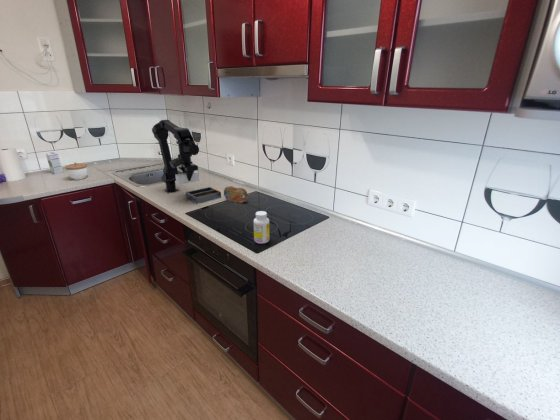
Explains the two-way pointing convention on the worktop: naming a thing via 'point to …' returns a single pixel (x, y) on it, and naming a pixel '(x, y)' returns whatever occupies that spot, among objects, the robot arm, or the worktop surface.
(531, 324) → the worktop surface
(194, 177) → the panel
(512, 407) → the worktop surface
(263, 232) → the supplement bottle
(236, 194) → the tin
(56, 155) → the syrup box
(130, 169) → the worktop surface
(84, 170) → the lidded bowl
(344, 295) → the worktop surface
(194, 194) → the box
